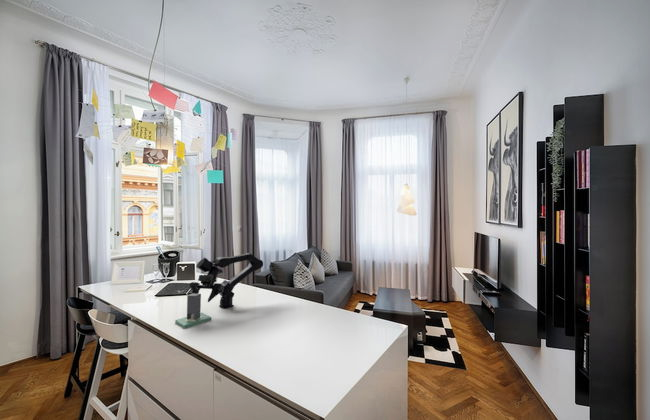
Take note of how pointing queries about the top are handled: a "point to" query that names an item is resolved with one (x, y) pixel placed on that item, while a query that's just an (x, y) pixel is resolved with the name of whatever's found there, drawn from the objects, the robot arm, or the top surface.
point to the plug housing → (193, 305)
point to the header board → (192, 320)
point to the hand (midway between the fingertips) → (200, 301)
